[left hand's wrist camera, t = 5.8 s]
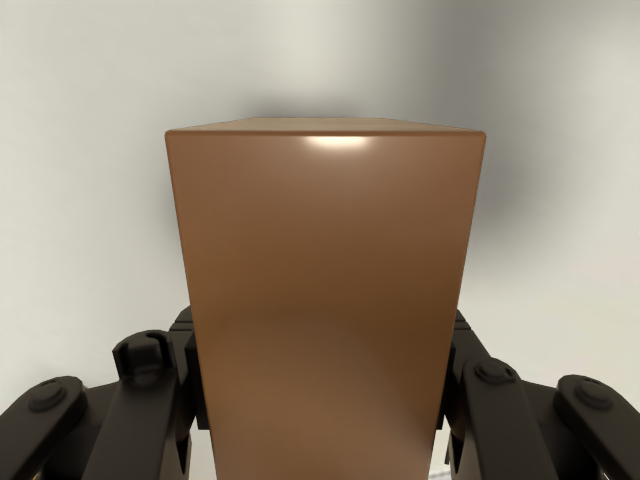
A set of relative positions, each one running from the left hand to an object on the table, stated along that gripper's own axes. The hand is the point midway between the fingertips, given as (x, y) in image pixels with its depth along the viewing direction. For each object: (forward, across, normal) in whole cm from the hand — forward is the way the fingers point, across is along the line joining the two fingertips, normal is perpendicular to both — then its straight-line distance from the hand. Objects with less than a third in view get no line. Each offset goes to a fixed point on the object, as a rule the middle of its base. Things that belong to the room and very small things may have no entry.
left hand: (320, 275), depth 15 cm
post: (+1, 0, -23) cm, 23 cm away
